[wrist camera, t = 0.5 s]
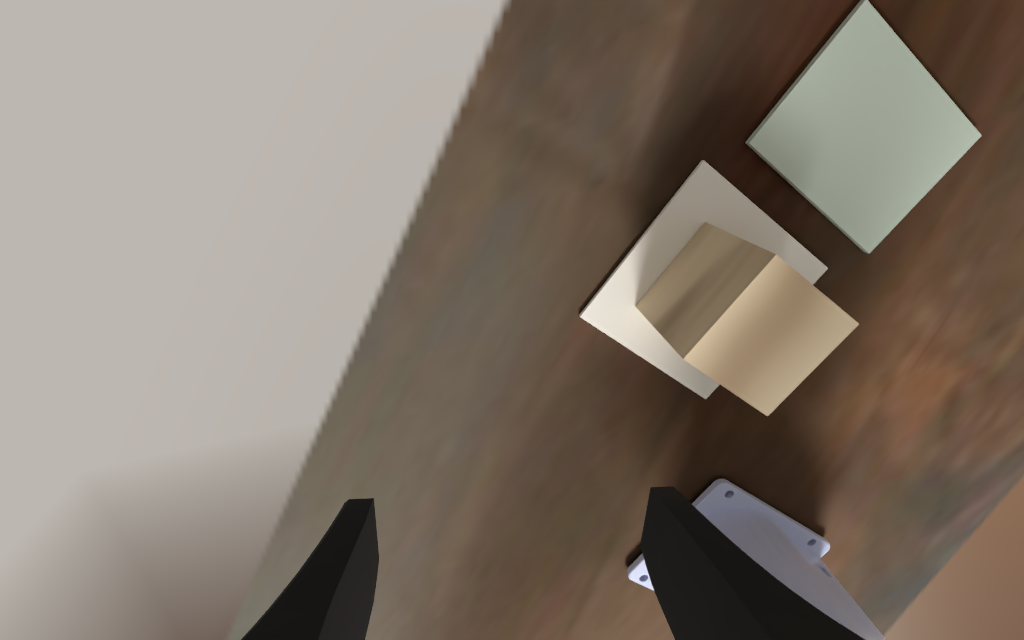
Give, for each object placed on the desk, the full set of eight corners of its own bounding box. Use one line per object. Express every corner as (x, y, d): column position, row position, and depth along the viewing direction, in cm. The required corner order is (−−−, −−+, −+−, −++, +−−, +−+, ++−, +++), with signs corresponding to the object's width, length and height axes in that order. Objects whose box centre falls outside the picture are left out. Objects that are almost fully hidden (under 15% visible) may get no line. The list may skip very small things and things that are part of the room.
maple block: (775, 279, 22) (859, 323, 17) (705, 355, 23) (767, 416, 19) (705, 222, 21) (776, 254, 16) (635, 306, 22) (683, 359, 17)
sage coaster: (974, 135, 21) (982, 135, 20) (864, 252, 22) (869, 253, 22) (860, 0, 18) (866, -2, 18) (744, 142, 20) (749, 143, 19)
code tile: (825, 267, 22) (829, 268, 22) (704, 397, 24) (706, 399, 24) (701, 159, 20) (704, 160, 20) (579, 315, 22) (580, 317, 22)
